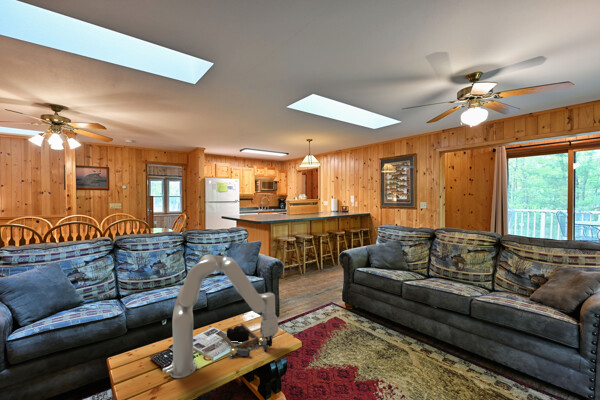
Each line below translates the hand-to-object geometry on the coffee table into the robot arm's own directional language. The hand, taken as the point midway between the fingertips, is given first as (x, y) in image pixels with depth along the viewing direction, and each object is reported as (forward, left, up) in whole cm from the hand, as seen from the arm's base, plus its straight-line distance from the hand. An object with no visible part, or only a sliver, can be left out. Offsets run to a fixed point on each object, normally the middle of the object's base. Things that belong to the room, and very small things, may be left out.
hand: (269, 345), depth 154 cm
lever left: (-17, +4, -1) cm, 17 cm away
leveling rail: (-10, +6, -2) cm, 12 cm away
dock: (-10, +20, -2) cm, 23 cm away
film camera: (-10, +20, -2) cm, 23 cm away
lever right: (-2, +3, -1) cm, 4 cm away
